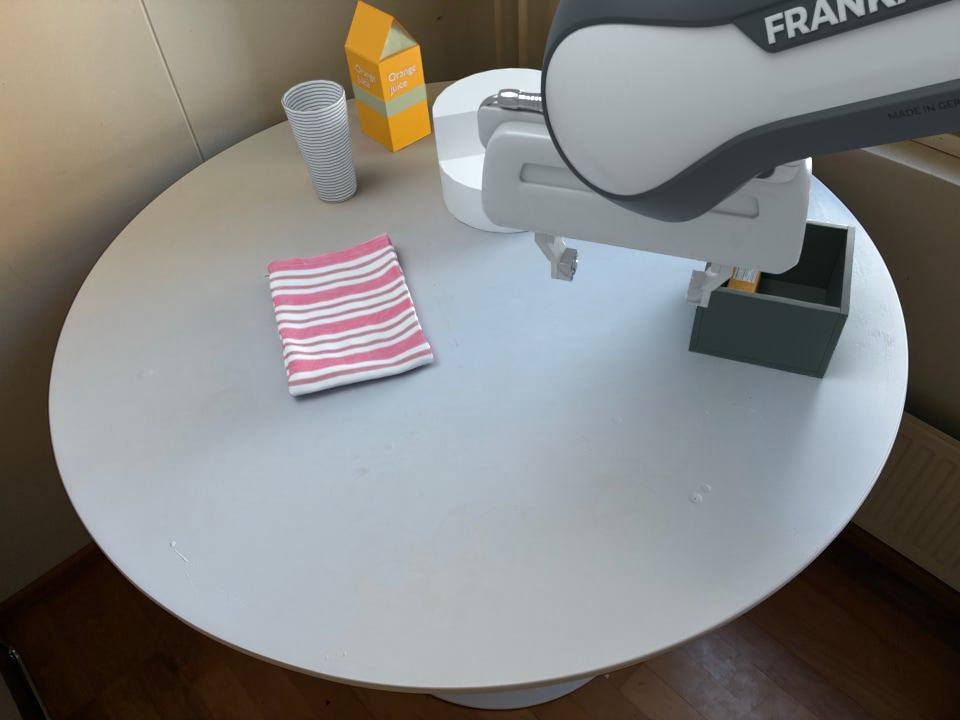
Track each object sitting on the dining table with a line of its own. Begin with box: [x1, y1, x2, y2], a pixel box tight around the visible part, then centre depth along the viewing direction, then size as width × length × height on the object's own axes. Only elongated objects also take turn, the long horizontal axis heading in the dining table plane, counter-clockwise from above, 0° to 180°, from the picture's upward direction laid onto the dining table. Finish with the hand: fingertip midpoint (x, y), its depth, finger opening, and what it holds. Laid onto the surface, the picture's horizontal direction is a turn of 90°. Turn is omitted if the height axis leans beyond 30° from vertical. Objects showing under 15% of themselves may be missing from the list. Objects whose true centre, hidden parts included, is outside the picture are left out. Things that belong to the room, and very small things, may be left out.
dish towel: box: [267, 232, 434, 397], centre depth 94 cm, size 17×23×4 cm
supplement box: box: [727, 267, 762, 293], centre depth 90 cm, size 3×3×10 cm
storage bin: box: [687, 218, 857, 379], centre depth 87 cm, size 15×15×10 cm
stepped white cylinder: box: [432, 67, 542, 234], centre depth 106 cm, size 20×20×13 cm
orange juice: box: [343, 0, 432, 153], centre depth 116 cm, size 8×9×20 cm
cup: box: [281, 78, 358, 204], centre depth 108 cm, size 8×8×16 cm
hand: (629, 287), depth 53 cm, fingers open, 8 cm apart
